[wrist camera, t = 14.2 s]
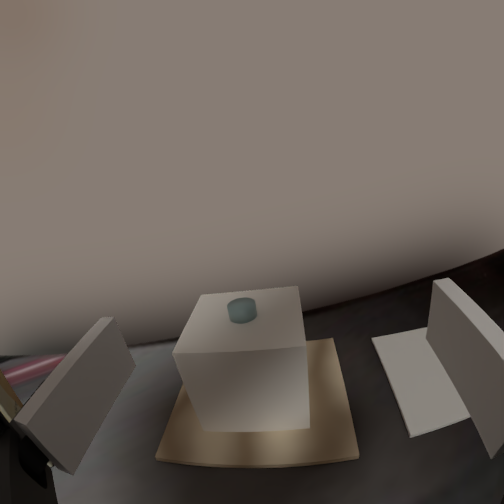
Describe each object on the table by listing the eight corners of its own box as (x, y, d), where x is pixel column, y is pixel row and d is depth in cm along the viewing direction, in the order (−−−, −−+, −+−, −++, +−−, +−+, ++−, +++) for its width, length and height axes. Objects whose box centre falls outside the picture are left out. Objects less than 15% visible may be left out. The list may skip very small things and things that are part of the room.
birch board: (332, 341, 36) (332, 338, 36) (358, 458, 19) (359, 455, 19) (197, 352, 38) (196, 348, 38) (157, 460, 21) (154, 457, 21)
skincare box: (55, 467, 18) (-15, 380, 14) (26, 478, 15) (-46, 393, 12) (45, 431, 23) (-9, 348, 19) (19, 441, 20) (-37, 360, 16)
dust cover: (304, 361, 32) (296, 274, 29) (310, 428, 23) (305, 331, 19) (220, 367, 33) (198, 284, 30) (203, 431, 24) (167, 340, 21)
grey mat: (470, 318, 32) (470, 316, 32) (528, 388, 17) (530, 385, 17) (371, 340, 34) (371, 338, 34) (409, 437, 19) (410, 435, 19)
